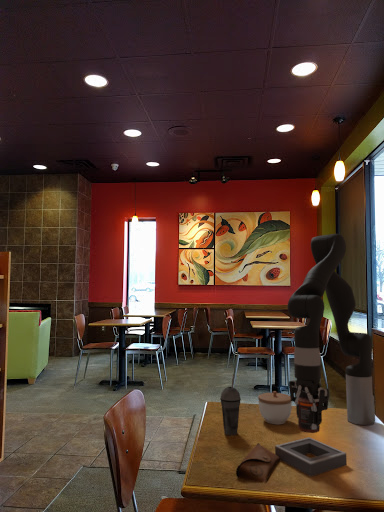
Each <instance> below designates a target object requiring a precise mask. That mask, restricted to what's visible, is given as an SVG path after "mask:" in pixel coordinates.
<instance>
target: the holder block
mask: <svg viewBox="0 0 384 512" xmlns="http://www.w3.org/2000/svg"><path fill="white" fill-rule="evenodd" d="M274 451H275V453H274V454H276V455H277V456H279V457H280V461H282V462H283V463H285V464H287V465H289V466H291V467H292V468H294V469H297V470H298V471H300V472H302V473H304V474H305V475H307V476H309V477H313V476H316V475H320V474H323V473H326V472H330V471H332V470H335V469H339V468H343V467H345V466H347V452H345V451H342V450H340V449H338V448H335V447H333V446H331V445H329V444H326V443H324V442H321V441H319V440H317V439H314V438H312V437H304V438H300V439H297V440H293V441H288V442H283V443H281V444H276V445H275V446H274ZM309 454H310V455H313V457H308V456H307V455H309Z"/></svg>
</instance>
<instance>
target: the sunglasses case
mask: <svg viewBox="0 0 384 512" xmlns="http://www.w3.org/2000/svg"><path fill="white" fill-rule="evenodd" d="M280 461H281V460H280V457H279V456H277V455H276V454H275V453H274V452H272V451H271V450H270V449H267V448H265V447H264V446H262V445H261V444H260V442H258V443H257V444H256V445H255V446H254V447H253V448H252V449H251V450H250V451H249V452H248V453H247V455H246V456H245V457H244V458H243V460H242V461H241V462H240V463H239V465H238V466H237V467H236V469H235V474H236V475H235V476H236V477H237V479H241V480H246V481H252V482H257V481H258V483H263V482H264V483H263V484H266V483H267V482H268V479H269V477H270V475H271V473H272V472H273V470H274V469H275V467H276V466H277V464H278V463H279V462H280Z"/></svg>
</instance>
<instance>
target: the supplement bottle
mask: <svg viewBox="0 0 384 512" xmlns="http://www.w3.org/2000/svg"><path fill="white" fill-rule="evenodd" d="M301 395H302V396H301V397H299V398H298V418H297V422H298V423H297V424H298V429H299V430H300V431H301V432H304V433H308V434H316V433H318V432H319V431H320V428H321V427H320V425H321V424H319V425H315V424H314V413H313V411H314V409H313V406H312V403H310V401H309V398H308V395H307V393H306V391H304V390H302V391H301ZM313 399H314V400H315V399H316V398H313ZM316 405H317V407H318V403H317V402H316Z"/></svg>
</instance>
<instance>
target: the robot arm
mask: <svg viewBox="0 0 384 512" xmlns="http://www.w3.org/2000/svg"><path fill="white" fill-rule="evenodd" d="M310 251H311V254H312V257H313V260H314V262H315V265H314V266H312V268H310V270H309V271H307V273H306V275H305V277H304V279H303V282H302V284H301V285H300V286H299V287H298V288H297V289H296V290H295V291H294V292H293V293H292V294H291V295H290V297H289V299H288V301H287V312H288V314H289V315H290V316H291V317H292V318H295V319H309V322H308V324H306V325H302V326H301V325H300V326H298V327H295V329H294V352H293V363H294V365H293V366H294V378H295V380H289V381H288V388H289V396H290V398H291V401H292V403H294V404H295V408H296V409H295V410H296V411H295V412H296V417H297V419H298V398H299V397H301V396H302V395H301V391H302V390H304V391H306V393H307V395H308V398H309V401H310V403H312V406H313V409H314V411H313V413H314V424H315V425H319V424H320V425H321V424H322V422H323V414H322V413H323V411H327V410H328V408H329V399H330V396H329V395H330V390H329V388H323V387H321V385H320V380H321V378H322V370H321V369H322V367H321V365H322V364H321V351H320V328H321V324H322V320H323V316H324V313H325V302H324V299H323V298H322V297H323V296H324V293H325V294H326V297H327V298H326V299H327V301H328V305H329V308H330V310H331V314H332V317H333V319H334V320H333V321H334V324H335V329H336V333H337V339H338V342H339V343H338V344H339V348H340V351H341V352H342V353H343V355H345V356H347V357H353V358H354V357H355V358H359V360H358V361H359V362H357V363H354V364H350V365H348V366H347V365H346V367H345V390H346V391H345V393H346V414H347V415H346V417H347V418H346V419H347V422H349V423H351V424H356V425H360V426H372V425H374V423H375V422H376V410H375V409H376V408H375V407H376V406H375V396H374V395H373V377H372V376H373V375H372V369H373V341H372V340H373V339H372V337H371V335H370V334H369V333H366V332H365V333H364V332H352V331H350V329H349V322H350V320H351V317H352V316H353V313H354V312H355V308H356V305H357V304H356V299H355V296H354V295H355V294H354V292H353V289H352V286H351V285H350V284H349V283H348V282H347V280H345V279H344V278H343V277H342V276H341V275H340V274H338V273H337V272H336V270H337V268H338V266H339V265H340V263H341V262H342V261H343V259H344V257H345V255H346V251H347V243H346V240H345V238H344V236H343V235H342V234H341V233H331V234H324V235H323V234H322V235H318V236H314V237H312V238H311V241H310ZM313 398H316V399H315V400H314V399H313ZM316 402H317V403H318V407H317V405H316Z"/></svg>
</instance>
